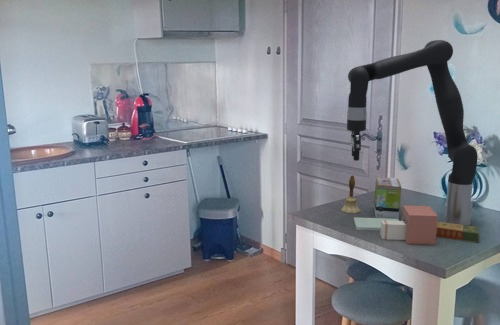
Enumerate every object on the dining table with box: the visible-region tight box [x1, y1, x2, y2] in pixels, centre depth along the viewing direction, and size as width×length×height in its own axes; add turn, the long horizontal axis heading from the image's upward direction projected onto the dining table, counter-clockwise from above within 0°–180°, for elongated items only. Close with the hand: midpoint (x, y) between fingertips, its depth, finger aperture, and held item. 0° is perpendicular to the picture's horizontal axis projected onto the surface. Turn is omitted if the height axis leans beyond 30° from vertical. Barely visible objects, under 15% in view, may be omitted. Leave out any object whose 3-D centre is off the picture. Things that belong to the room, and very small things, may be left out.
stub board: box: [353, 217, 400, 232], centre depth 204 cm, size 18×12×1 cm, turn 84°
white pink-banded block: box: [379, 220, 407, 241], centre depth 191 cm, size 13×4×6 cm, turn 84°
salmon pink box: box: [401, 204, 439, 246], centre depth 189 cm, size 10×12×11 cm
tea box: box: [373, 176, 402, 220], centre depth 218 cm, size 15×10×15 cm
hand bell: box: [340, 175, 361, 214], centre depth 222 cm, size 8×8×16 cm
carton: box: [436, 221, 480, 243], centre depth 193 cm, size 8×16×4 cm, turn 67°
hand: (355, 158), depth 204 cm, fingers open, 8 cm apart
